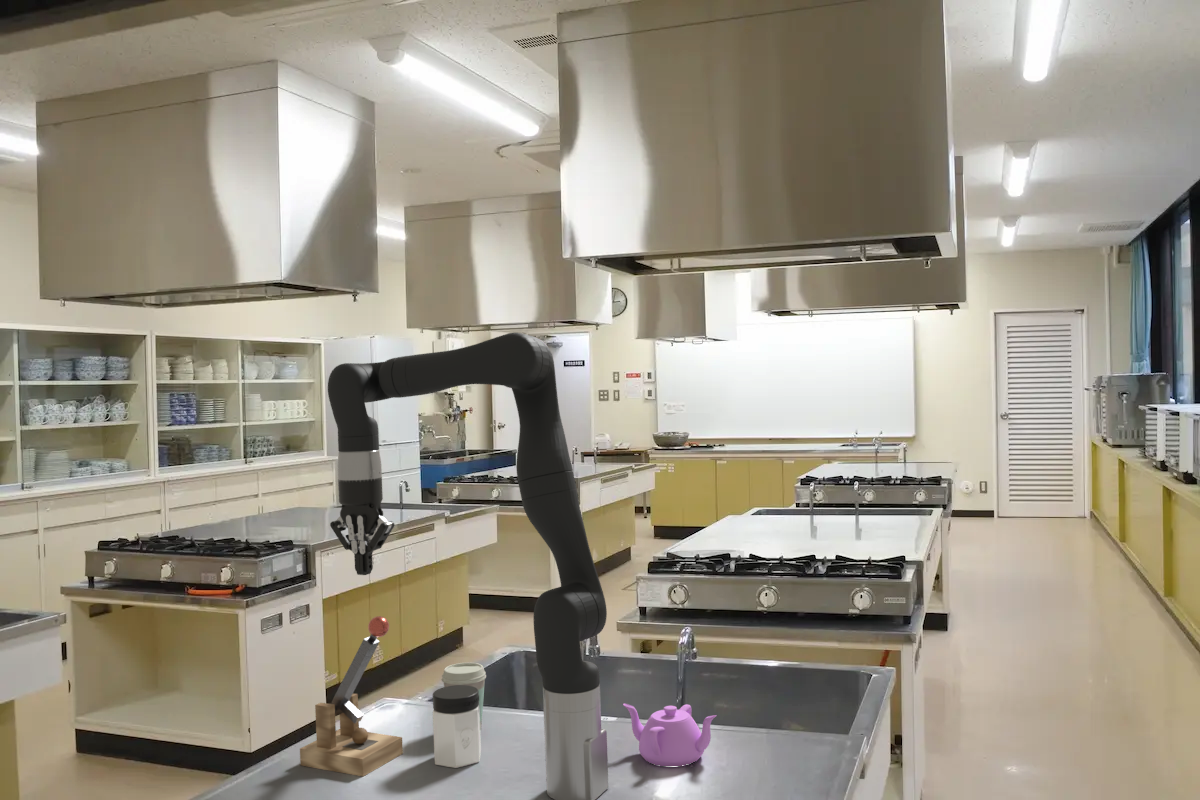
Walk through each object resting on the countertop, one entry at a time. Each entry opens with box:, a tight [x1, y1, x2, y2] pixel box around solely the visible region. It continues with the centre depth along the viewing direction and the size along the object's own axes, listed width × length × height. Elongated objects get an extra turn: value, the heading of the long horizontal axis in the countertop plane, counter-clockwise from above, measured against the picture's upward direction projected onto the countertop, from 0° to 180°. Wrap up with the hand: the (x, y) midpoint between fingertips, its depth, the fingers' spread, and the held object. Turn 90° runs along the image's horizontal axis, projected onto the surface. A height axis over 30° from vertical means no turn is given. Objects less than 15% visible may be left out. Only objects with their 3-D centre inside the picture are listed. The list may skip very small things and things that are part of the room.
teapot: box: [622, 703, 717, 767], centre depth 172 cm, size 12×14×9 cm
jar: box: [432, 685, 482, 769], centre depth 174 cm, size 9×8×12 cm
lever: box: [330, 615, 390, 723], centre depth 174 cm, size 7×4×21 cm
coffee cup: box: [441, 662, 487, 731], centre depth 189 cm, size 8×9×12 cm
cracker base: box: [299, 693, 404, 777], centre depth 176 cm, size 14×11×10 cm
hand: (363, 574), depth 174 cm, fingers closed
